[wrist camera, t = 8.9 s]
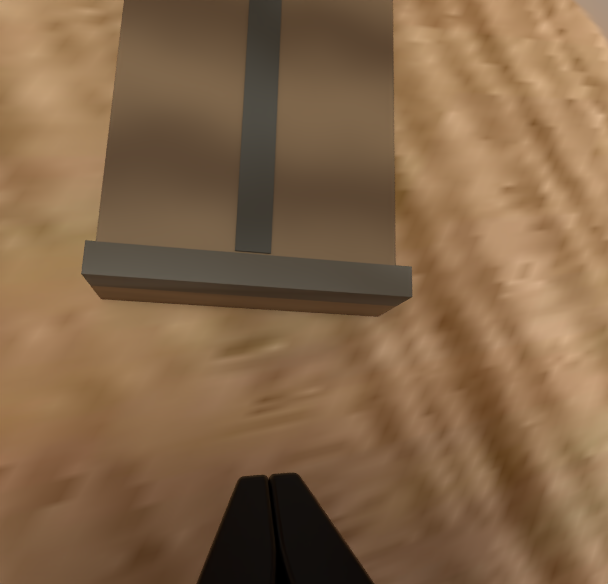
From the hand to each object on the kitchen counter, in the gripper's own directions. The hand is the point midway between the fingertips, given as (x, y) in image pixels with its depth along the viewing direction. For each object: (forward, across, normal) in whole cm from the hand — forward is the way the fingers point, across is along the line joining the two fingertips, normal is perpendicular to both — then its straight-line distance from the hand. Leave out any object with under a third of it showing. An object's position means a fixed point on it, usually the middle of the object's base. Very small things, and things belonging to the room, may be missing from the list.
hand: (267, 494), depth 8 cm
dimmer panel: (+19, -1, -3) cm, 19 cm away
